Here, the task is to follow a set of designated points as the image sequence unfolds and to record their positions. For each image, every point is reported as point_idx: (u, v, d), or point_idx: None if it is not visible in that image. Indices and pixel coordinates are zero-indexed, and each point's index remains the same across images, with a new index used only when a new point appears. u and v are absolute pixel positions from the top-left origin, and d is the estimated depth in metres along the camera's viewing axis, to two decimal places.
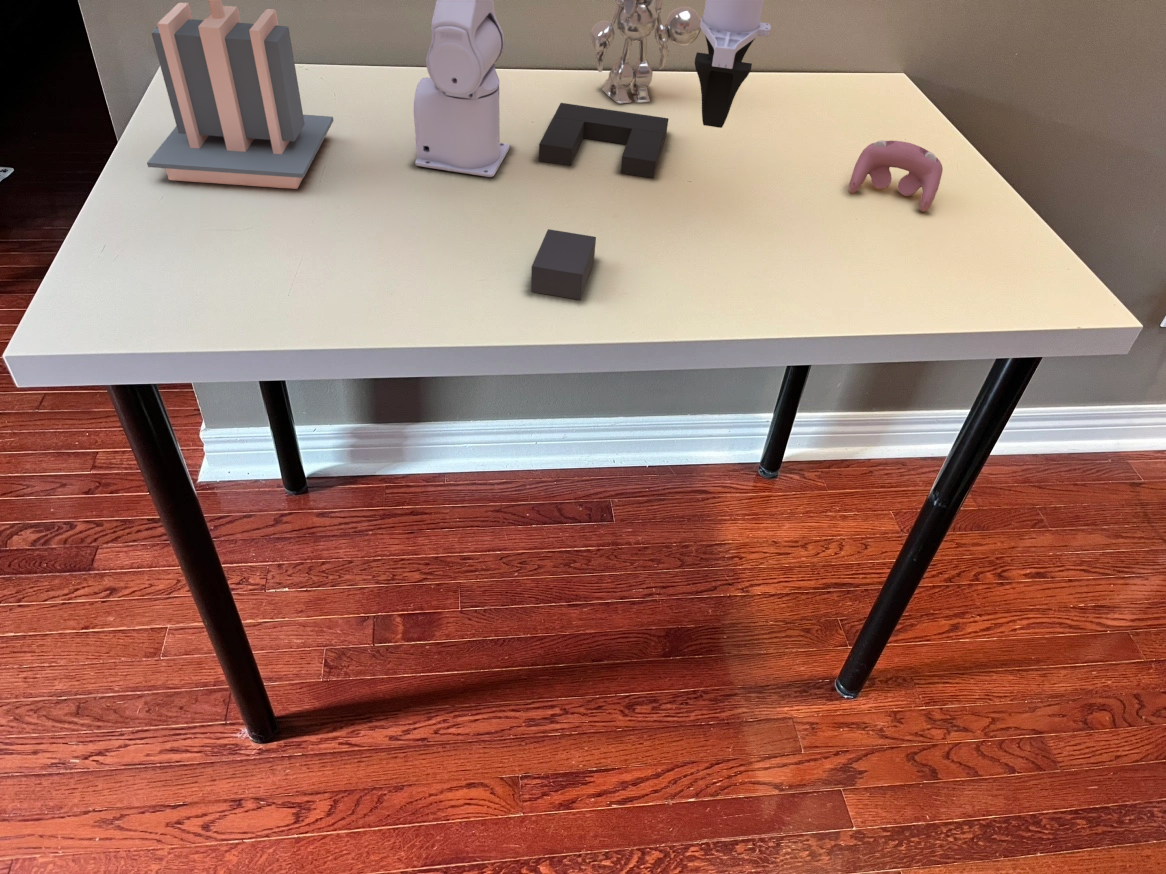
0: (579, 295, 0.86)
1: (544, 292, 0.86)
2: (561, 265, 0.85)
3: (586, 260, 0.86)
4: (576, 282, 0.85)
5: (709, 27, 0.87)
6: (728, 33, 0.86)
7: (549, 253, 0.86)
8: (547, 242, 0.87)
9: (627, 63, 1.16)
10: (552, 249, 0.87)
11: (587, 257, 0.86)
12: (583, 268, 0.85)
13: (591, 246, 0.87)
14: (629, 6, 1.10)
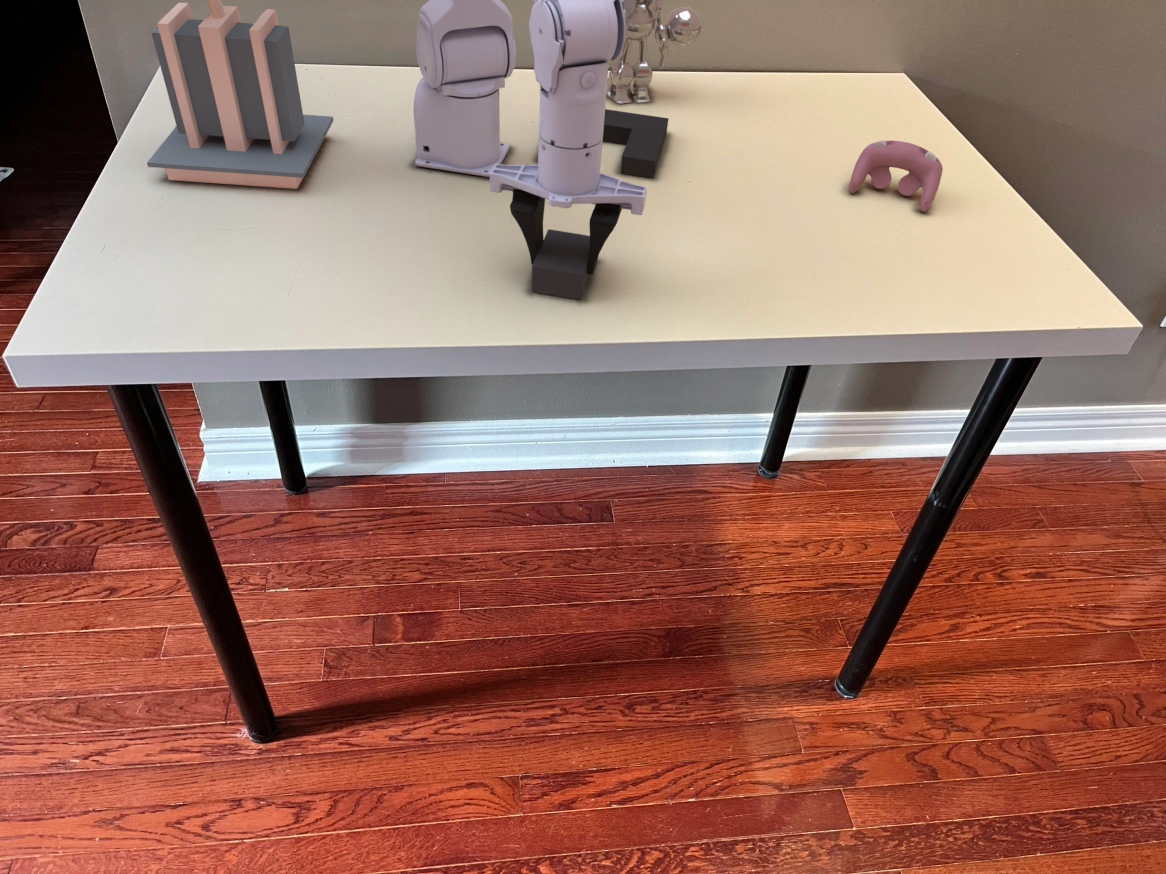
0: (579, 295, 0.86)
1: (544, 292, 0.86)
2: (562, 265, 0.85)
3: (586, 260, 0.86)
4: (576, 282, 0.85)
5: None
6: (532, 174, 0.82)
7: (549, 253, 0.86)
8: (547, 242, 0.87)
9: (627, 63, 1.16)
10: (552, 249, 0.87)
11: (587, 257, 0.86)
12: (583, 268, 0.85)
13: None
14: (629, 6, 1.10)
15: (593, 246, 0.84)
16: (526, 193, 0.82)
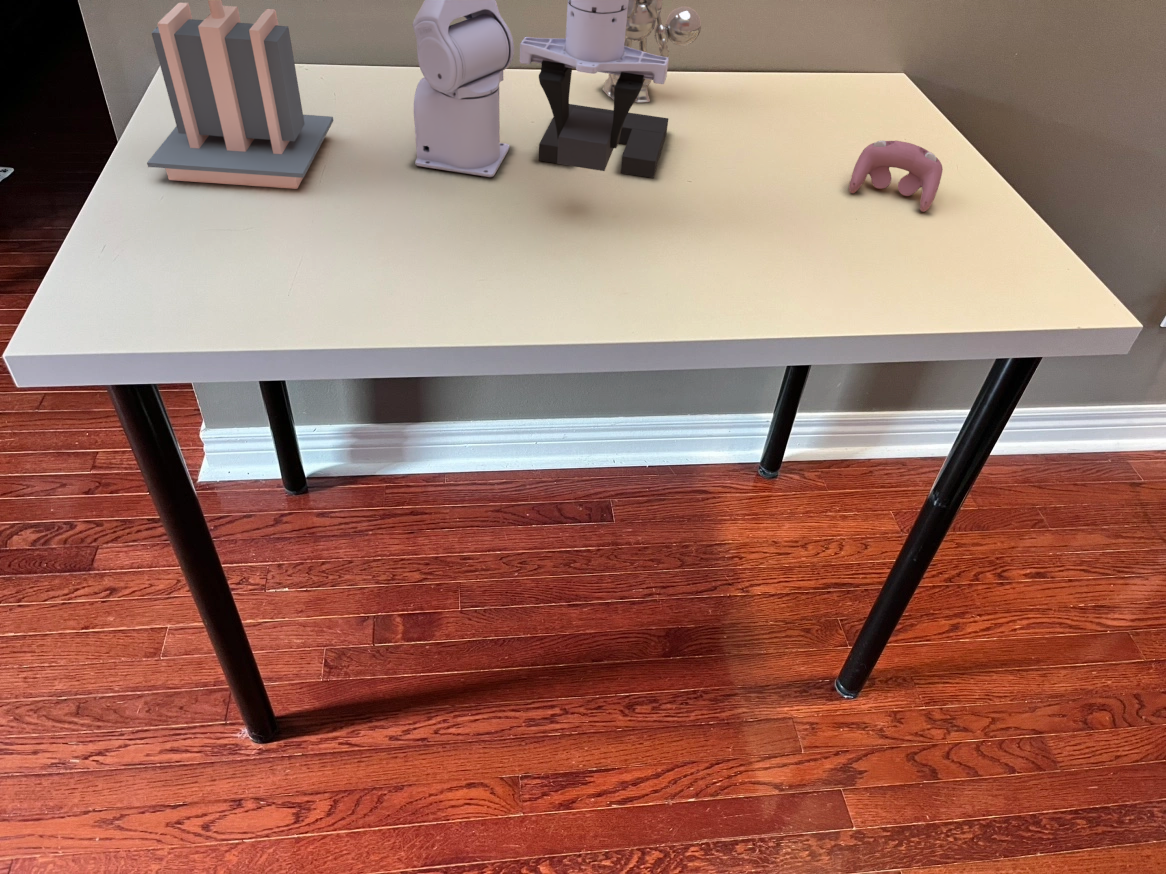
0: (603, 166, 0.90)
1: (570, 164, 0.91)
2: (587, 136, 0.89)
3: (610, 133, 0.90)
4: (600, 152, 0.89)
5: None
6: (560, 45, 0.86)
7: (575, 126, 0.91)
8: (572, 118, 0.92)
9: None
10: (577, 124, 0.91)
11: None
12: (607, 139, 0.89)
13: None
14: (629, 6, 1.10)
15: (617, 117, 0.88)
16: (554, 64, 0.87)
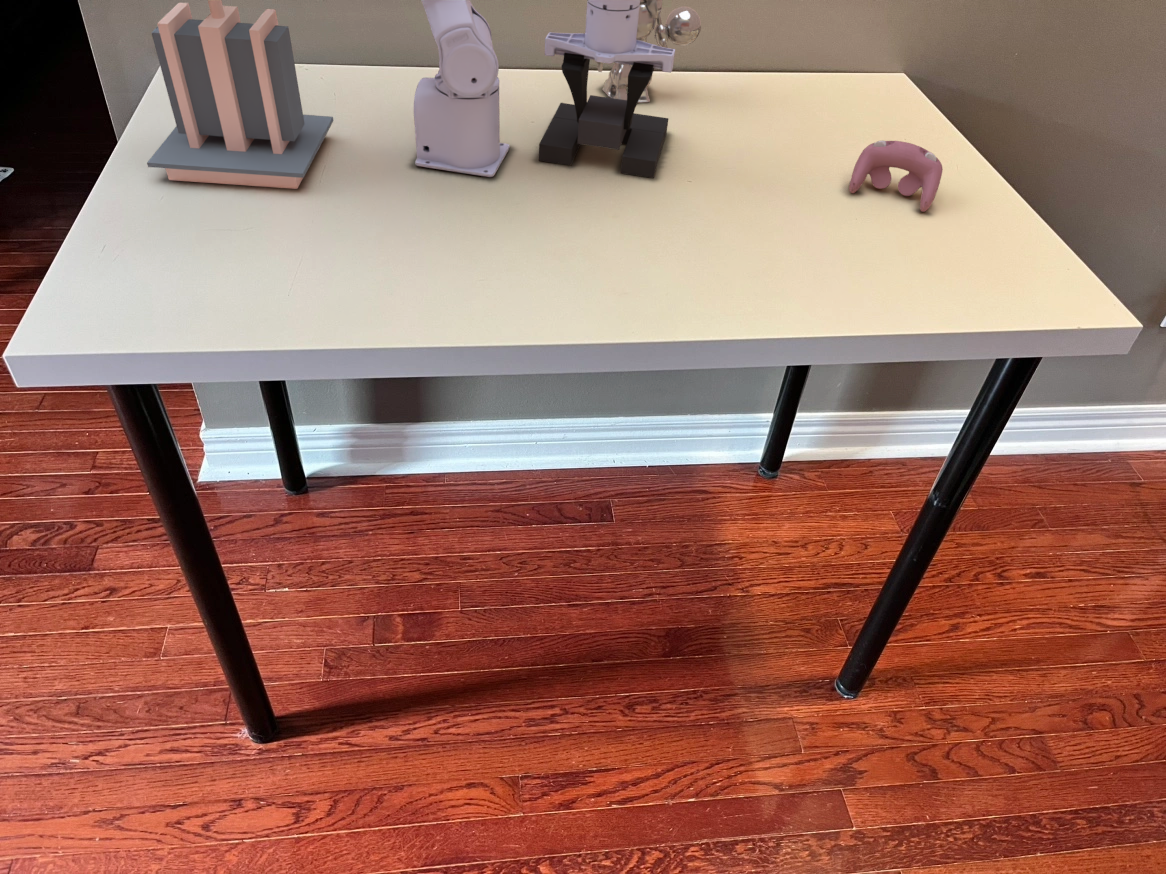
0: (618, 145, 1.03)
1: (588, 143, 1.03)
2: (603, 119, 1.02)
3: (623, 116, 1.03)
4: (615, 132, 1.02)
5: None
6: (580, 39, 0.99)
7: (592, 111, 1.03)
8: (590, 104, 1.04)
9: None
10: (595, 108, 1.04)
11: (624, 114, 1.03)
12: (621, 121, 1.02)
13: None
14: None
15: (630, 102, 1.01)
16: (575, 56, 0.99)
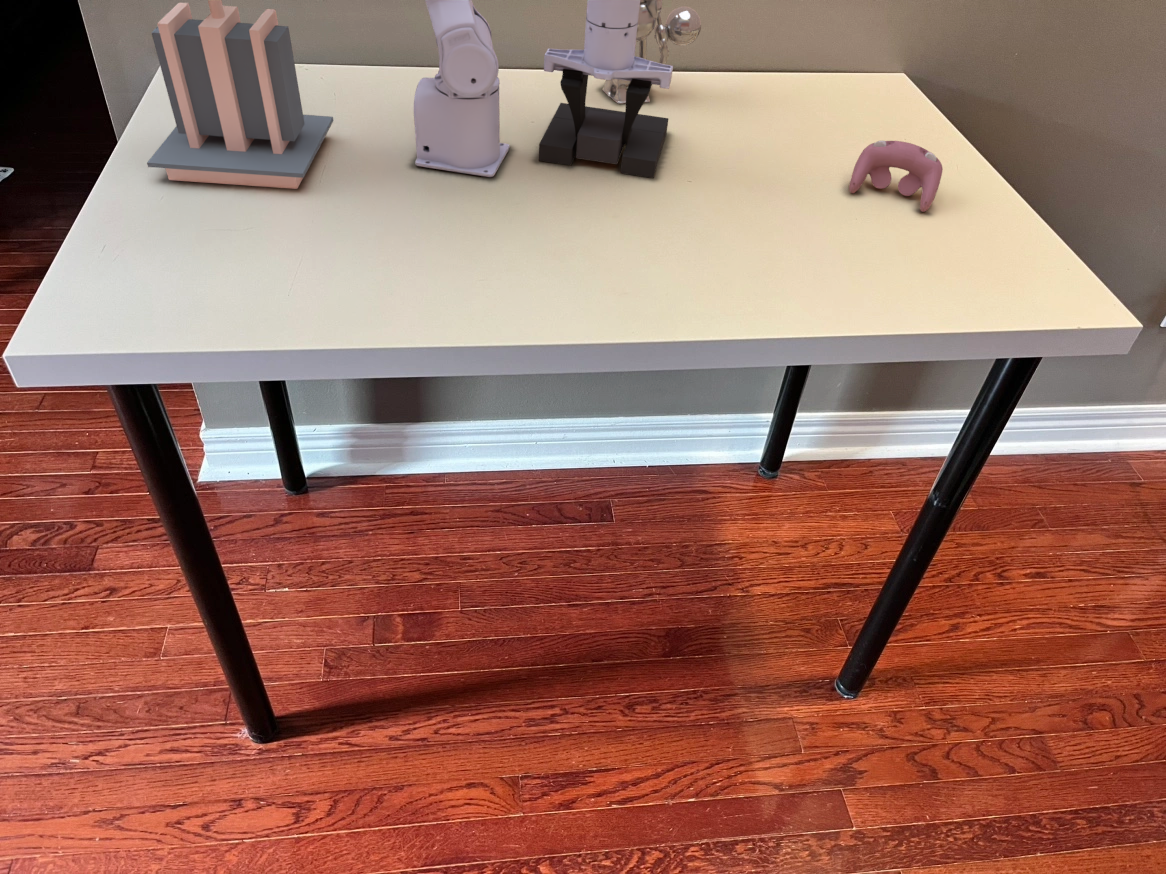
0: (616, 160, 1.04)
1: (587, 158, 1.04)
2: (602, 134, 1.03)
3: (622, 131, 1.04)
4: (614, 147, 1.03)
5: None
6: (579, 55, 1.00)
7: (591, 125, 1.04)
8: (588, 118, 1.06)
9: None
10: (593, 123, 1.05)
11: (622, 129, 1.04)
12: (619, 136, 1.03)
13: None
14: None
15: (628, 117, 1.02)
16: (573, 72, 1.00)
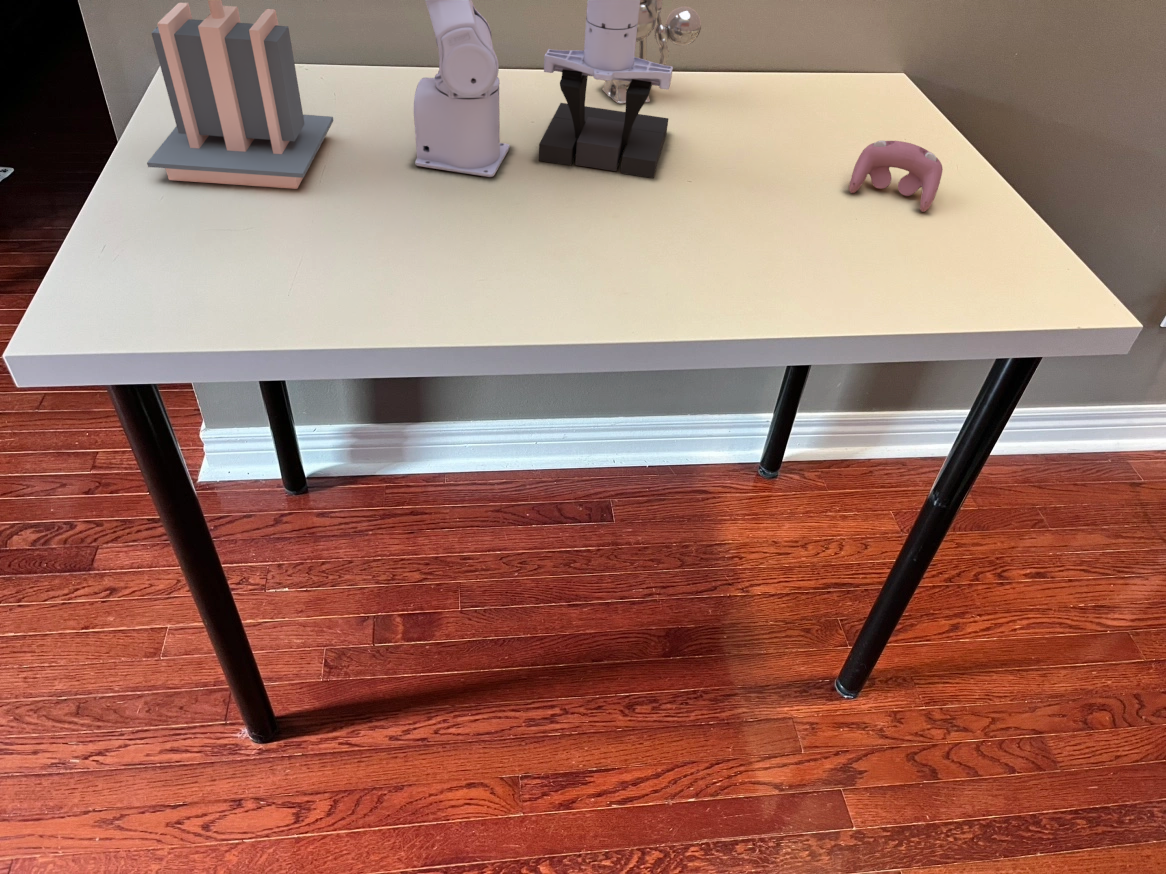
0: (615, 167, 1.04)
1: (586, 165, 1.05)
2: (601, 141, 1.04)
3: (621, 138, 1.04)
4: (613, 154, 1.03)
5: None
6: (579, 56, 1.00)
7: (590, 133, 1.05)
8: (588, 125, 1.06)
9: None
10: (592, 130, 1.05)
11: (621, 136, 1.05)
12: (619, 143, 1.03)
13: None
14: None
15: (628, 118, 1.02)
16: (573, 72, 1.00)
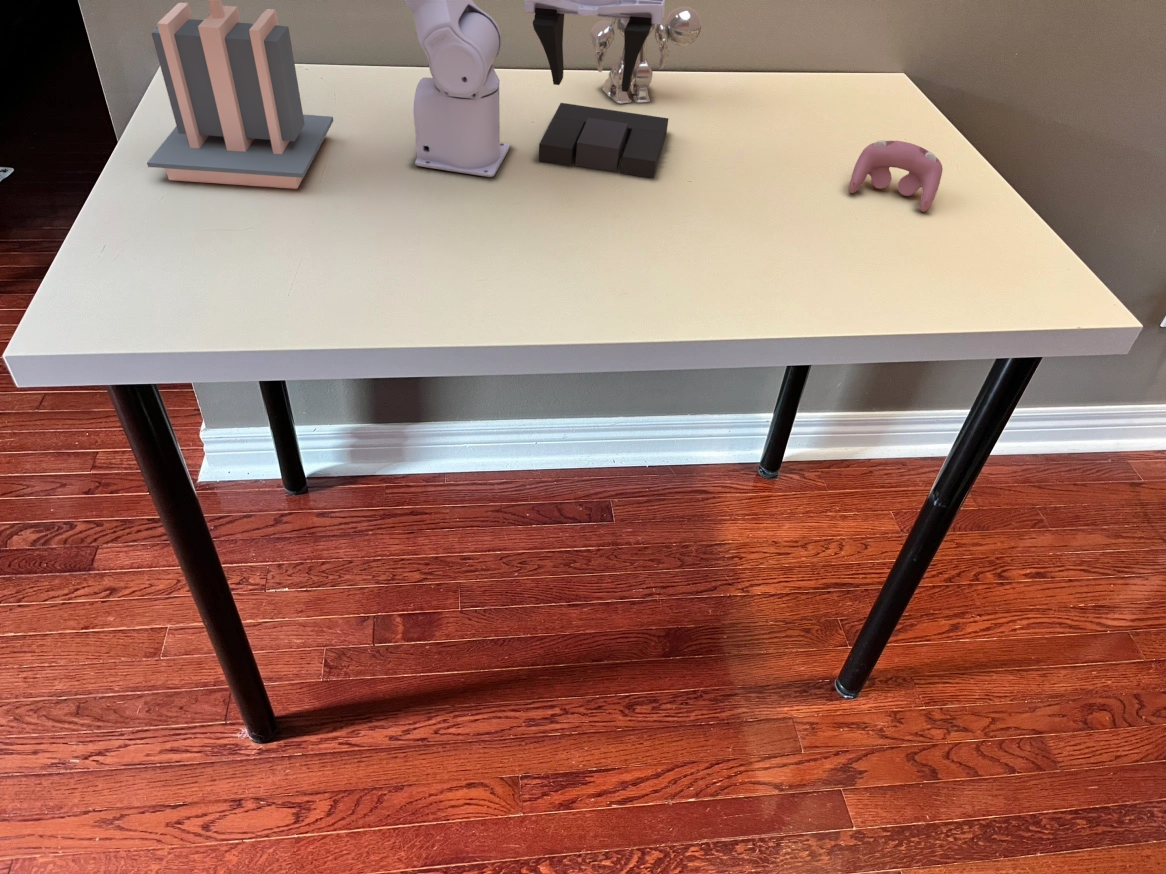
0: (615, 168, 1.05)
1: (586, 166, 1.05)
2: (601, 142, 1.04)
3: (621, 139, 1.05)
4: (613, 155, 1.04)
5: None
6: None
7: (590, 134, 1.05)
8: (588, 126, 1.06)
9: None
10: (592, 131, 1.06)
11: (621, 137, 1.05)
12: (619, 144, 1.04)
13: (624, 129, 1.06)
14: None
15: (628, 60, 0.93)
16: (547, 10, 0.92)
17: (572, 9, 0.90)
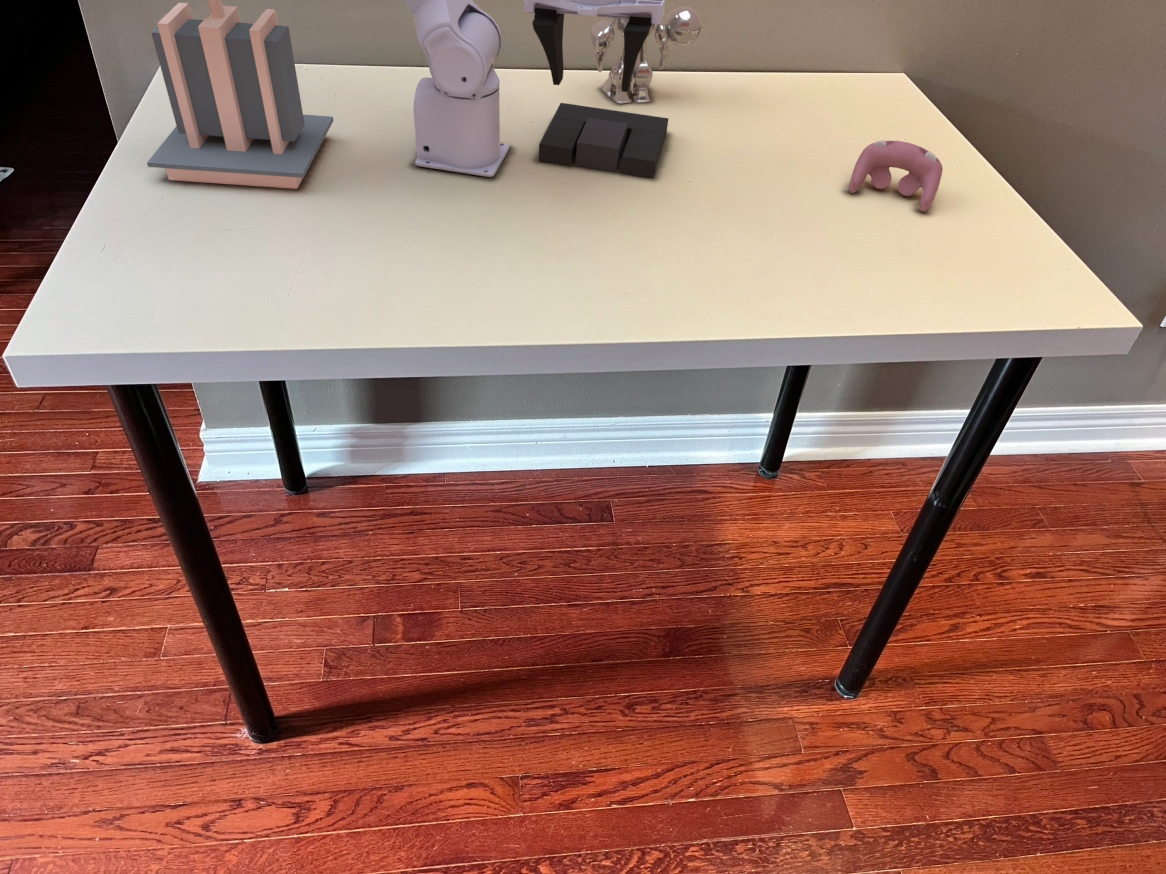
0: (615, 168, 1.05)
1: (586, 166, 1.05)
2: (601, 142, 1.04)
3: (621, 139, 1.05)
4: (613, 155, 1.04)
5: None
6: None
7: (590, 134, 1.05)
8: (588, 126, 1.06)
9: None
10: (592, 131, 1.06)
11: (621, 137, 1.05)
12: (619, 144, 1.04)
13: (624, 129, 1.06)
14: None
15: (627, 60, 0.93)
16: (546, 10, 0.92)
17: (572, 9, 0.90)
